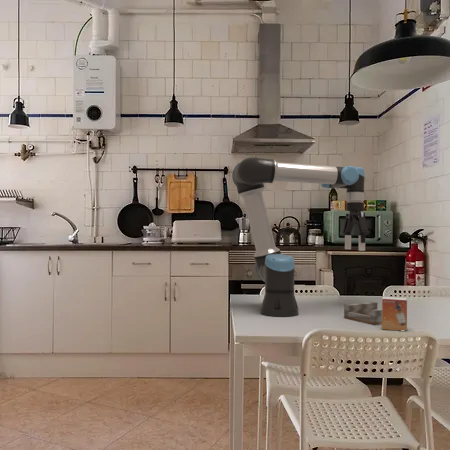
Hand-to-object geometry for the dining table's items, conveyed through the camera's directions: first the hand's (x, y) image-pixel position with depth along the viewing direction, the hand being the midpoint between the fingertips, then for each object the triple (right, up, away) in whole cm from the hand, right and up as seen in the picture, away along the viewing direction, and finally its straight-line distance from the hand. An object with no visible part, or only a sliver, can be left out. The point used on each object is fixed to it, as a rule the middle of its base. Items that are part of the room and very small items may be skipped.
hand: (354, 250), depth 200 cm
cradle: (-2, -24, -31) cm, 39 cm away
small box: (0, -24, -47) cm, 53 cm away
